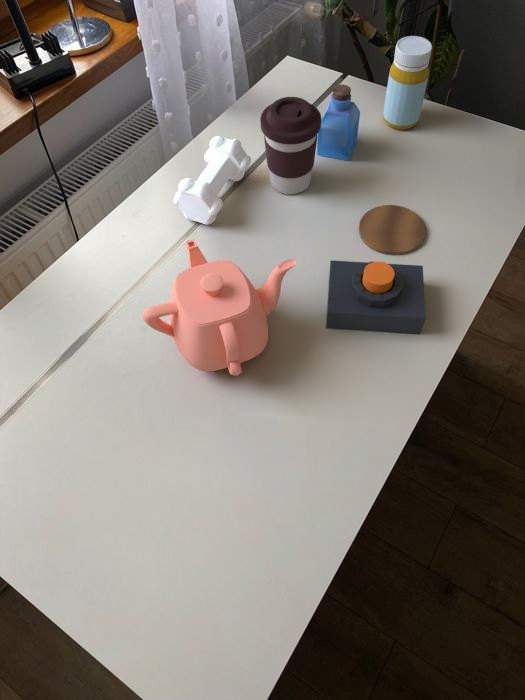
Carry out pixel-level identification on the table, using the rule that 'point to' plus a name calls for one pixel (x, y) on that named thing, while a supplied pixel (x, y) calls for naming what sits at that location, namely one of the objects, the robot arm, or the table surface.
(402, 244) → the coaster
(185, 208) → the bone shaped toy
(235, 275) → the teapot
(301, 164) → the coffee cup
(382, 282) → the orange push button
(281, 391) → the table surface
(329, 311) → the push button box
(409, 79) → the bottle
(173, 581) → the table surface
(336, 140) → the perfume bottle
